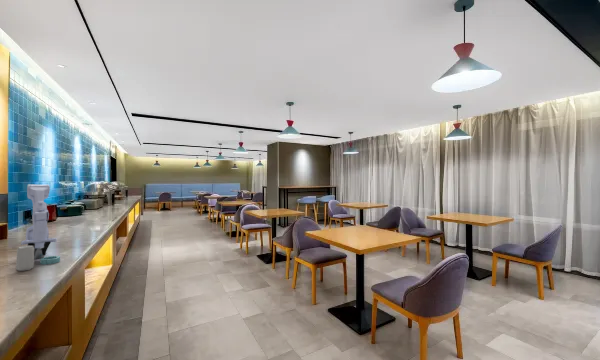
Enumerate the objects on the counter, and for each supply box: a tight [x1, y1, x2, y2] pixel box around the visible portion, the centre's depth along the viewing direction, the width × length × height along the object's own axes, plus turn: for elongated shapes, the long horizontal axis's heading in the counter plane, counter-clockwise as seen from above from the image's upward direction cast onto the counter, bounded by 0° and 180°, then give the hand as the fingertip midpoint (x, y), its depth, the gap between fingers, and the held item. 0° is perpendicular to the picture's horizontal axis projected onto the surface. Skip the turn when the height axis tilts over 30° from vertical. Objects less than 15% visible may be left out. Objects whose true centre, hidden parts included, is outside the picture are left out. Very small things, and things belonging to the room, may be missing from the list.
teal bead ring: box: [40, 255, 61, 265], centre depth 151 cm, size 8×8×2 cm
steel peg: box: [34, 247, 45, 261], centre depth 152 cm, size 4×4×6 cm
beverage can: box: [15, 245, 35, 272], centre depth 138 cm, size 6×6×12 cm
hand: (38, 255), depth 152 cm, fingers closed on steel peg, 4 cm apart
